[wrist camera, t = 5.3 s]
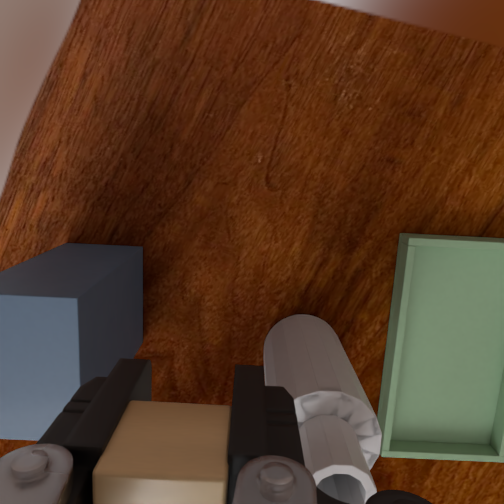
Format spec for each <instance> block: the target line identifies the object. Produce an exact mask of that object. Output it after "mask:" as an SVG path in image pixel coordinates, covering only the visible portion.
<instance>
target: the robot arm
mask: <svg viewBox="0 0 504 504" xmlns="http://www.w3.org/2000/svg"><path fill="white" fill-rule="evenodd" d="M151 372H152V370H151V361H150V360H144V359H126V358H120V359H119V361H118V362H117V363H116V365H115V366H114V368H113V369H112V371H111V372H110V374H109V375H108V377H95V378H93V379H92V380H90V381H88V382H87V383H85V384H84V385H82V386H80V387H79V389H78V390H77V391H76V393H75V394H74V395H73V397H72V398H71V400H70V402H68V403H67V404H66V406H65V407H64V408H63V410H62V412H60V414H59V415H58V416H57V417H56V419H55V420H54V421H53V423H52V424H51V425H50V427H49V428H48V429H47V430H46V432H45V433H44V434H43V436H42V437H41V438H40V440H39V441H38V442H37V444H35V445H30V446H26V447H22V448H19V449H17V450H14V451H12V452H10V453H8V454H6V455H5V456H3V457H1V458H0V504H93V483H92V472H93V470H94V468H95V466H96V464H97V462H98V460H99V458H100V456H102V454H103V452H104V450H105V449H106V447H107V445H108V443H109V441H110V439H111V437H112V435H113V433H114V431H115V429H116V427H117V425H118V423H119V421H120V419H121V417H122V415H123V414H124V412H125V410H126V408H127V406H128V404H129V402H130V401H132V400H135V401H151ZM227 463H228V465H229V477H228V495H227V504H349V503H346V502H343V501H340V500H337V499H335V498H333V497H331V496H329V495H327V494H326V493H324V492H323V491H321V490H320V489H319V488H318V487H317V486H316V482H315V479H314V477H313V475H312V474H311V472H310V471H309V470H308V469H307V468H306V467H305V462H304V456H303V450H302V444H301V439H300V433H299V427H298V421H297V415H296V409H295V404H294V398H293V397H292V396H291V395H290V394H289V392H288V391H287V390H286V389H285V388H284V387H281V386H264V368H263V366H254V365H235V377H234V388H233V400H232V412H231V423H230V435H229V447H228V461H227ZM365 504H432V503H430V502H429V501H427V500H426V499H424V498H422V497H420V496H417V495H415V494H412V493H409V492H405V491H400V490H384V491H380V492H377V493H375V494H373V495H372V496H371V497H369V498H368V500H367V501H366V503H365Z"/></svg>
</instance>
